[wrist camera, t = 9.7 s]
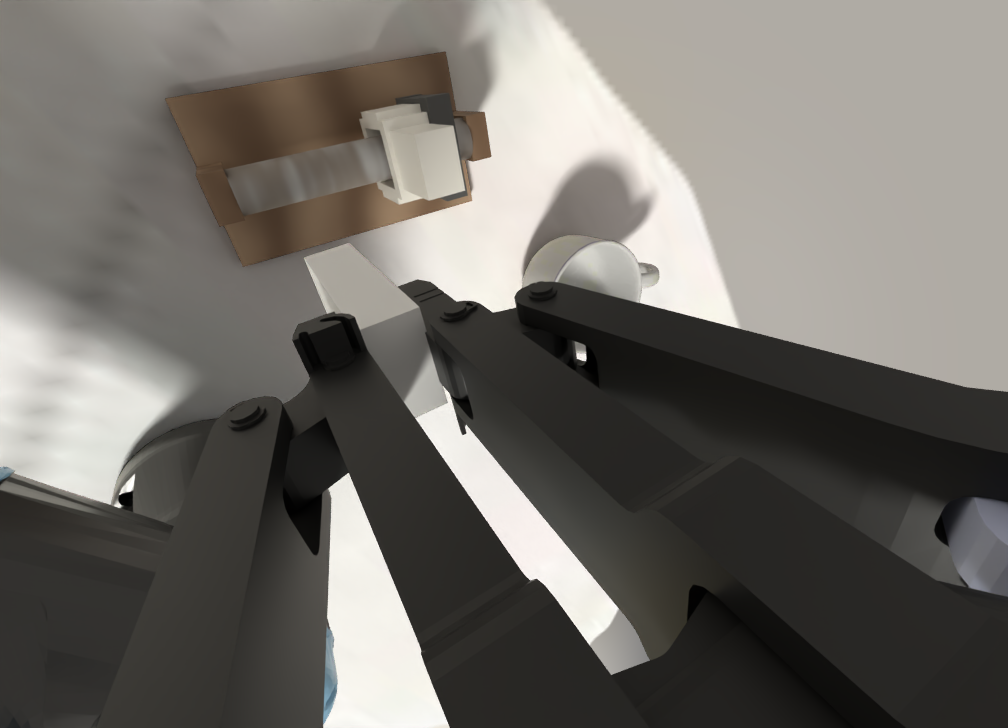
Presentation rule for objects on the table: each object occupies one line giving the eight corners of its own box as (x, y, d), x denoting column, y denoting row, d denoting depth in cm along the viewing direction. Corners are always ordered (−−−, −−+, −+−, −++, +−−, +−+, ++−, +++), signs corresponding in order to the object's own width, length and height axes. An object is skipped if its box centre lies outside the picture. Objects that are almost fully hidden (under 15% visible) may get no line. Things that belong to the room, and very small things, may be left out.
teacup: (504, 331, 51) (546, 363, 45) (511, 226, 46) (559, 245, 40) (607, 315, 57) (656, 341, 51) (622, 221, 52) (678, 237, 46)
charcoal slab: (416, 189, 38) (447, 201, 34) (395, 98, 35) (426, 97, 30) (435, 184, 39) (467, 195, 34) (415, 94, 35) (449, 92, 31)
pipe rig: (242, 263, 36) (248, 289, 31) (165, 98, 30) (158, 97, 25) (467, 199, 43) (502, 211, 38) (440, 52, 37) (478, 44, 32)
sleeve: (380, 194, 37) (428, 219, 29) (357, 111, 34) (404, 114, 26) (416, 185, 38) (472, 206, 30) (397, 103, 35) (454, 103, 27)
